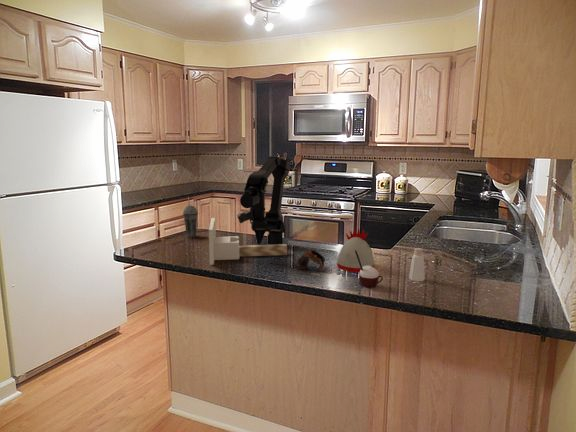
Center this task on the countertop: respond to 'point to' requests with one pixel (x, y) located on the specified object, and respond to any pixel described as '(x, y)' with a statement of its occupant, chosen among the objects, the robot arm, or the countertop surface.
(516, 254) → the countertop surface
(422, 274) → the pepper shaker
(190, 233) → the beverage cup
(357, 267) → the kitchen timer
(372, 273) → the cocoa
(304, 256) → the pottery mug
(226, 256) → the white angular piece
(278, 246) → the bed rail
